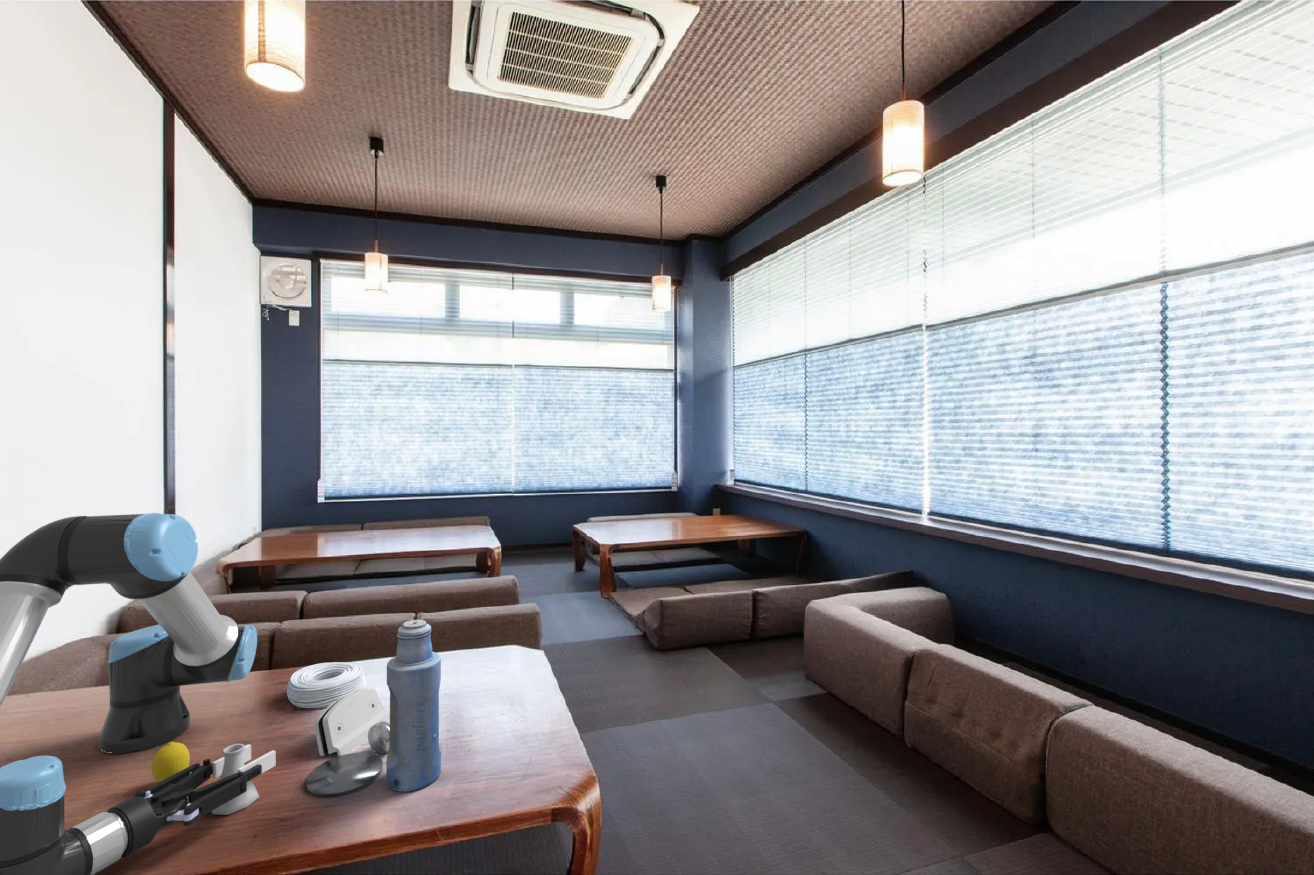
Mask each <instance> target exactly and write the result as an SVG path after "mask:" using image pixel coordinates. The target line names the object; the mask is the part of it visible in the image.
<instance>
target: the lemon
mask: <svg viewBox="0 0 1314 875" xmlns="http://www.w3.org/2000/svg"><path fill="white" fill-rule="evenodd" d="M190 756H191V755H190V752H189V749H188V747H187V746H186V745H185V744H183V743H181V742H175V741H168V743H167V744H165V745H164V746H162V747H161V748H160V749H159V750H157V751H156V754H155V755H154V757H153V760H152V763H151V772H152V776H153V777H152V778H153V779H155V781H157V783H159V782H161V781H163V780H165V779H166V778H168V777H170V776H172V775H174V774H176V773H178V772H180V771H182V770H184V769H186V768H187V767H189V766H190V761H191V760H190V759H191V757H190Z"/></svg>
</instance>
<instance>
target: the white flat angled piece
mask: <svg viewBox="0 0 1314 875" xmlns="http://www.w3.org/2000/svg"><path fill="white" fill-rule="evenodd" d="M381 721H383V722H387V723H388V724H390V711H387V710H385V708H384V706H383V704H382V701H381V700H380V697H379V694H378V692H377V690H376V688H365V689H362V690H358V691H355V692H352V693H349V694H347V695H345V696H343V697H341V698H339V699H338V700H336V701H335V702H333V703H332V704H330V705H329V706H328V707H325V709H324V710H322V712H321V713H320V714H319V715H318V717H317V718H316V719H315V720H314V722H313V727H314V732H315V738H316V744H317V748H318V753H319V756H321V757H324V756H326V755H327V754H328V755H331V754H333V753H337V757H338V756H341V755H345V754H350V752H352V751H353V750H354V749H355V748H357V747H358V746H359V745H361V744H362V743H363V742H365V741H366V740H368V732H369V729H370V728H371V727H372V726H373V725H375V724H377V723H378V722H381Z"/></svg>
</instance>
